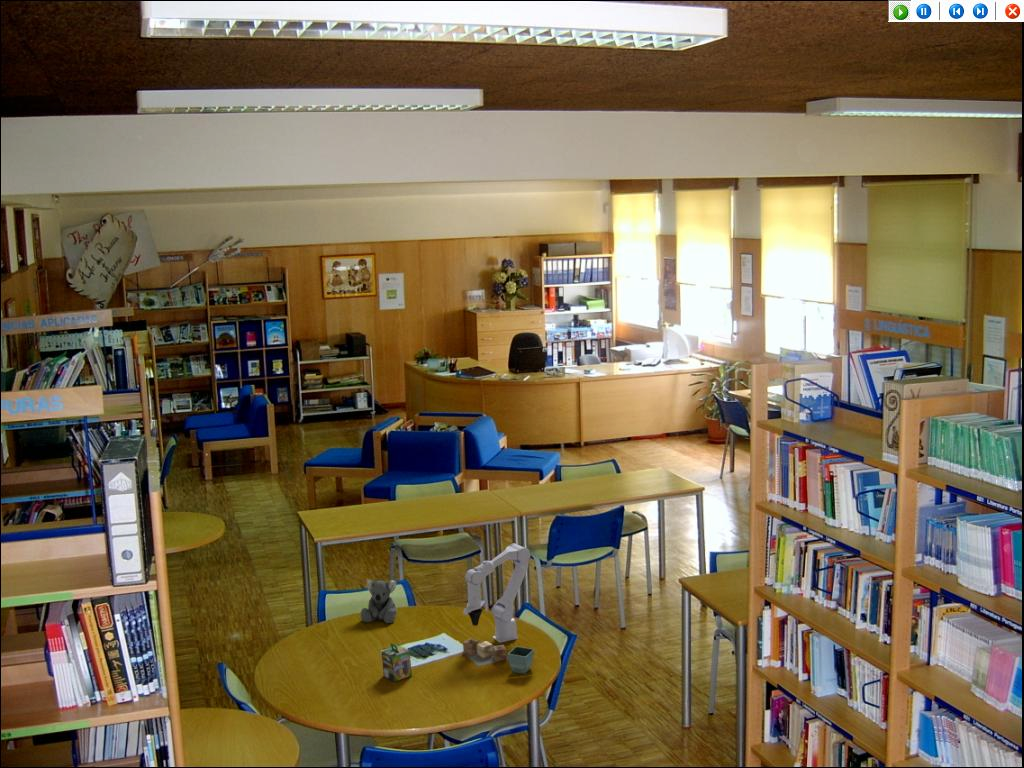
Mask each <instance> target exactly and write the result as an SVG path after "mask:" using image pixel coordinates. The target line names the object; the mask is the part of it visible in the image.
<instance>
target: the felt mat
mask: <svg viewBox="0 0 1024 768" xmlns="http://www.w3.org/2000/svg"><path fill="white" fill-rule="evenodd" d="M492 646H495V645H494V644H492ZM462 653H463V654H464V655H465V656H466V657H467V658H468V659H469V660H471V661H472V662H473V663H474V664H475V665H476V666H478V667H481V666H485V665H490V664H493V663H497V662H498V663H499V662H500V661H495V660H494V657H493V655H492V656H488V657H485V658H483V657H481V656H479V655H477V653H475V654H473V655H470V654H467V653H464V651H462ZM507 660H509V658H508V655H506V660H505V661H507Z"/></svg>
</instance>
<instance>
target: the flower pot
mask: <svg viewBox="0 0 1024 768" xmlns="http://www.w3.org/2000/svg"><path fill="white" fill-rule="evenodd" d="M534 655H535V649H534V648H530V647H529V648H528V647H523V646H515V647H513V648H512V649H511V650H510V651H509V652H508V654H507V657H508V658H509V659H508V663H509V666H510V669H511V670H512V672H513V673H517V674H526V673H527V672H529V670H530V669H531V667H532V665H533V662H534Z"/></svg>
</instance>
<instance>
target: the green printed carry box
mask: <svg viewBox="0 0 1024 768" xmlns="http://www.w3.org/2000/svg"><path fill="white" fill-rule="evenodd" d="M381 659H382V660H381V661H382V670H383V671H382V672H383V673H382V674H383V677H385V678H387V680H390V681H391V682H393V683H396V682H398V681H401V680H404V679H406V678H409V677H412V676H413V672H412V660H411V650H409V649H407V648H406V647H403V646H400V645H396V644H395V643H391V642H390V647H389V648H387V649H384V650H382V651H381Z"/></svg>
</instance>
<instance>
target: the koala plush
mask: <svg viewBox="0 0 1024 768" xmlns="http://www.w3.org/2000/svg"><path fill="white" fill-rule="evenodd" d="M366 587H367V590H368V591H369V593H370V598H369V601H368V605H367V607H362V608H361V610H360V620H361V621H362V622H364V623H372V622H373V621H375V620H377V619H379V620H383V622H384V623H386V624H392V623H393V622H394V621H395V620H396V617H397V608H396V604H395V602H394V599H393V598H392V597H391V596H390V595H391V594H392V593H394V592H395V590H396V588H397V582H396V581H395V580H388V581H384V580H380V579H379V580H376V581H375V580H372V579H369V578H368V579H367V580H366Z"/></svg>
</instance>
